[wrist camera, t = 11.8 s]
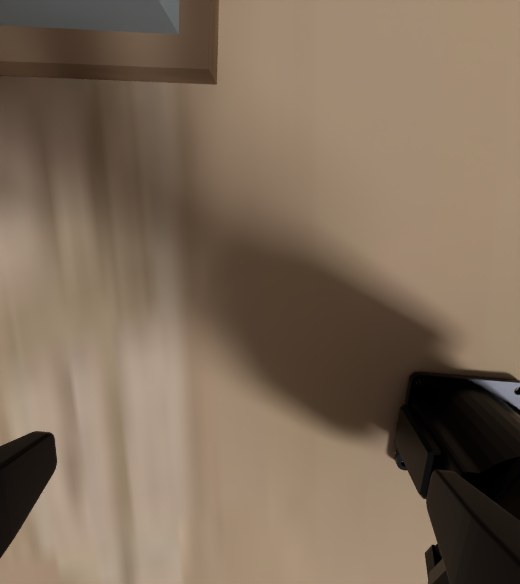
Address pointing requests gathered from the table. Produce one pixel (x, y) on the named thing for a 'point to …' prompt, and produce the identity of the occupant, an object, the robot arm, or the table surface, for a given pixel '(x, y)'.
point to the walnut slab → (118, 50)
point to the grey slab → (94, 15)
